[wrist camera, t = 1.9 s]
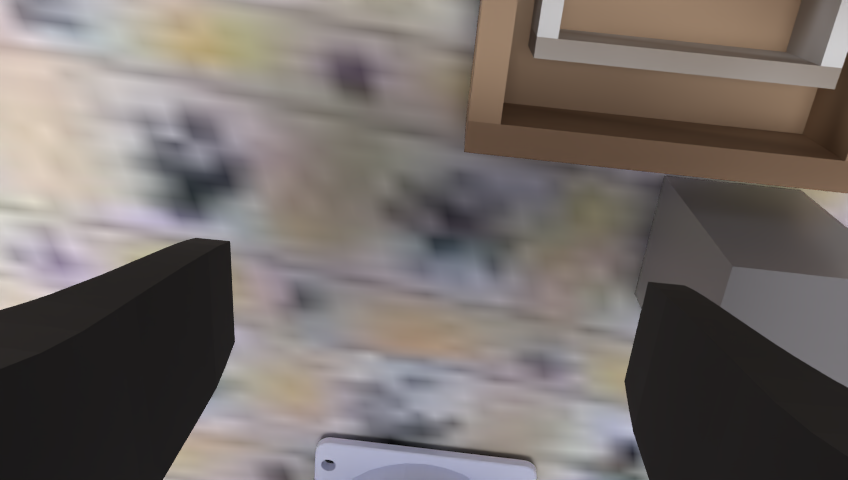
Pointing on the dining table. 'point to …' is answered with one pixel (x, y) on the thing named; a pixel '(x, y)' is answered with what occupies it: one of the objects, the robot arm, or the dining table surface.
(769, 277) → the grey rectangular block
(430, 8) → the dining table surface
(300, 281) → the dining table surface
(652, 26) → the box
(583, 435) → the dining table surface
